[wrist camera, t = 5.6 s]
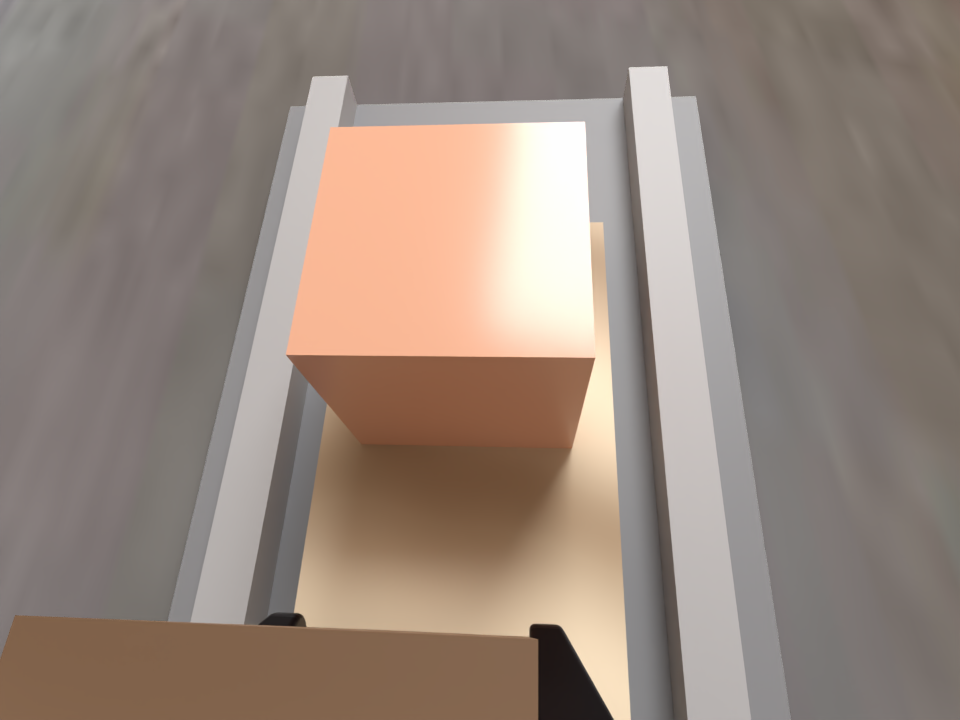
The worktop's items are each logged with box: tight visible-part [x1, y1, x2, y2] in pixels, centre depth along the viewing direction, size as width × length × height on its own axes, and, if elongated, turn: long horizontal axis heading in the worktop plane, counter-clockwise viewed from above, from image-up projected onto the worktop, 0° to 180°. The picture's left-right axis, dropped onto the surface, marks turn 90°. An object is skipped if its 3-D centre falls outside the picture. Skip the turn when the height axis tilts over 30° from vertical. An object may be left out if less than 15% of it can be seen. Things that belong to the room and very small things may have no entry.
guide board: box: [168, 66, 791, 720], centre depth 14 cm, size 30×14×2 cm, turn 178°
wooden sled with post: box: [0, 222, 631, 720], centre depth 9 cm, size 16×7×11 cm, turn 178°
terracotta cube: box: [286, 122, 595, 449], centre depth 13 cm, size 5×5×5 cm
